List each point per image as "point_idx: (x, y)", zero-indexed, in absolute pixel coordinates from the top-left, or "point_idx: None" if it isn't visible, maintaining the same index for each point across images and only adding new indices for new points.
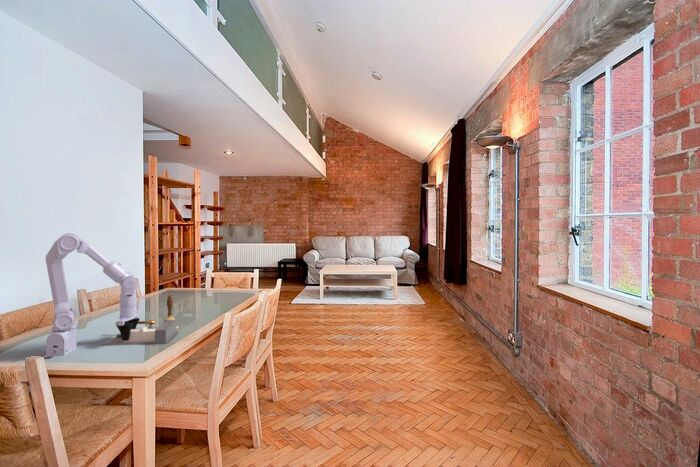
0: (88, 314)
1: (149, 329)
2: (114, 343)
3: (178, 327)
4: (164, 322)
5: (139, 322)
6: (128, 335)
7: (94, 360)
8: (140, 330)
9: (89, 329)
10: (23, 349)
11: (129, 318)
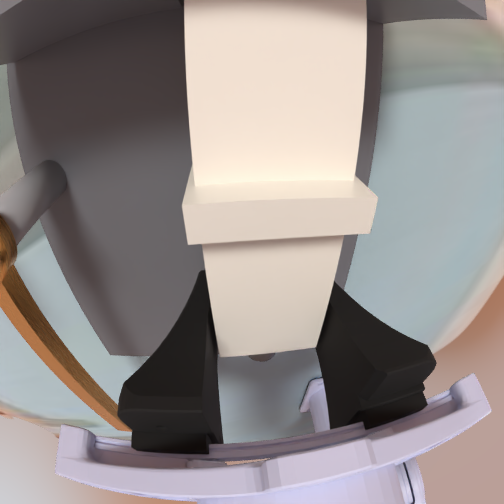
0: (17, 417)
1: (238, 126)
2: None
3: None
4: None
5: (52, 346)
6: (341, 288)
7: (473, 274)
8: (364, 221)
9: (92, 414)
10: (281, 436)
11: (437, 440)
